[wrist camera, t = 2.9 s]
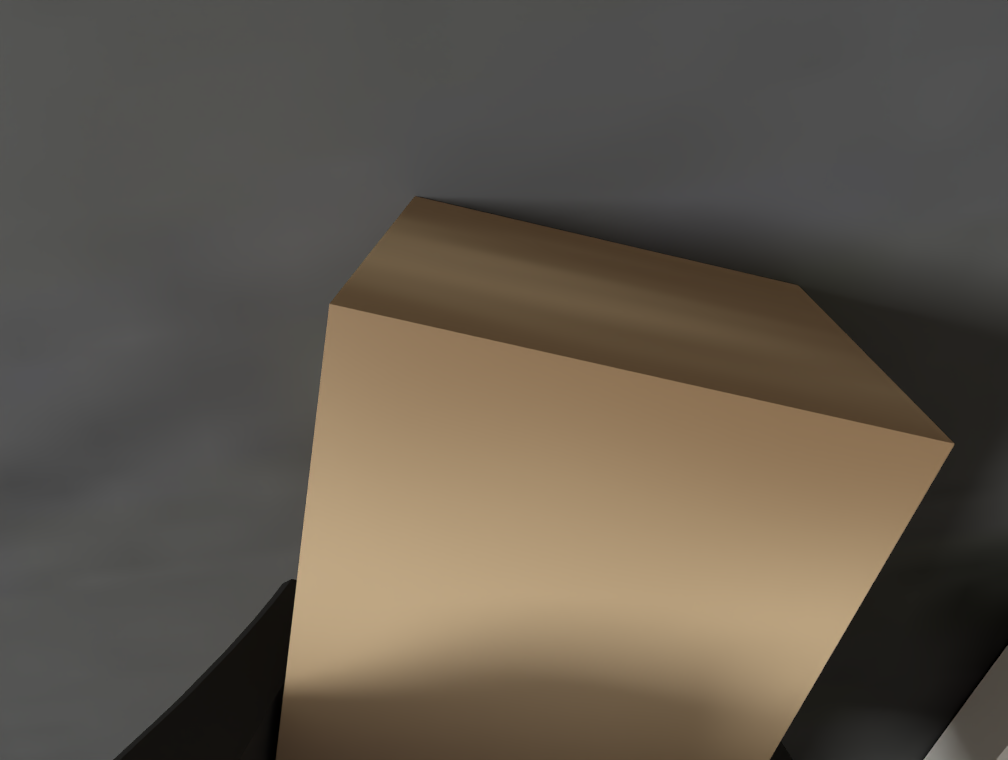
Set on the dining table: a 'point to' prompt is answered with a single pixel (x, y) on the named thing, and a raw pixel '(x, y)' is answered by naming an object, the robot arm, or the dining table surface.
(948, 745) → the peg stand
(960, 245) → the dining table surface
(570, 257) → the tan rectangular block
